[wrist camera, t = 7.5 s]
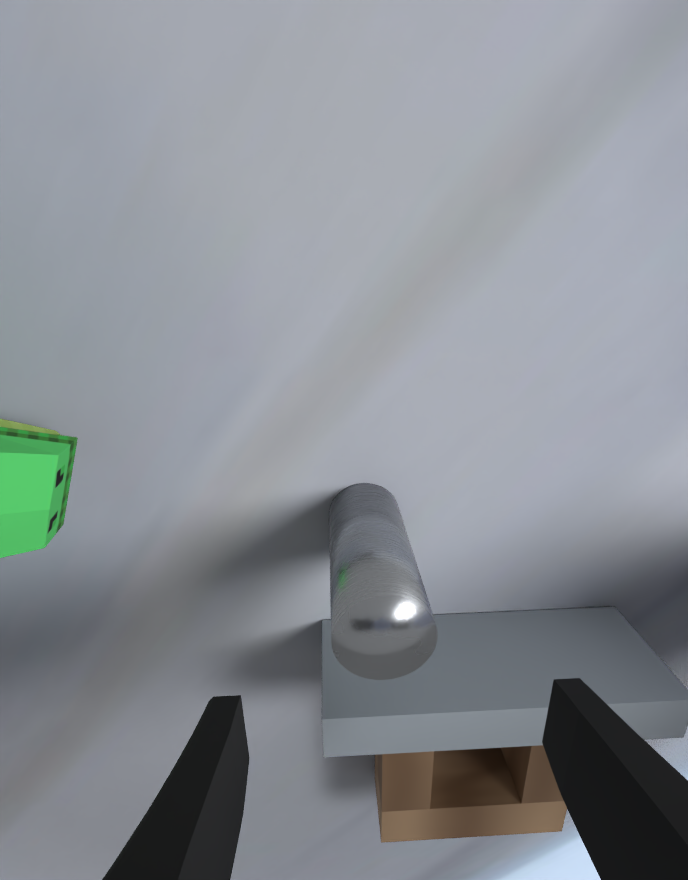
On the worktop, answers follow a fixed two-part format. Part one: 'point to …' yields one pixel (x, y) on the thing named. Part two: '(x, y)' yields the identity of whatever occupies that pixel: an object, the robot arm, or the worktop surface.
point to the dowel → (376, 588)
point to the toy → (32, 485)
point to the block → (467, 793)
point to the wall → (500, 684)
